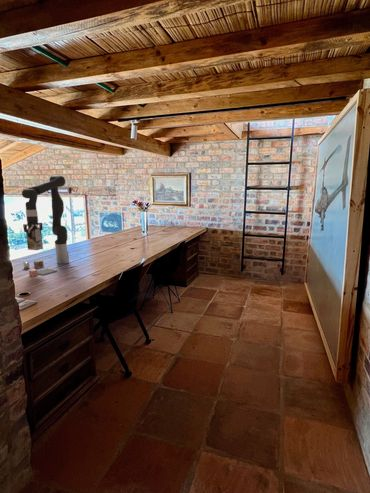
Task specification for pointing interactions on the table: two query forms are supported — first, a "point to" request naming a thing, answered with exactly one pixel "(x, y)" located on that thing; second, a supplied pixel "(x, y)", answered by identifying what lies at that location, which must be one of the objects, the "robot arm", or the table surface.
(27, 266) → the steel cylinder
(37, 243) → the coffee box
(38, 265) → the walnut block
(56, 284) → the table surface
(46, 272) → the slate mat
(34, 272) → the terracotta block
